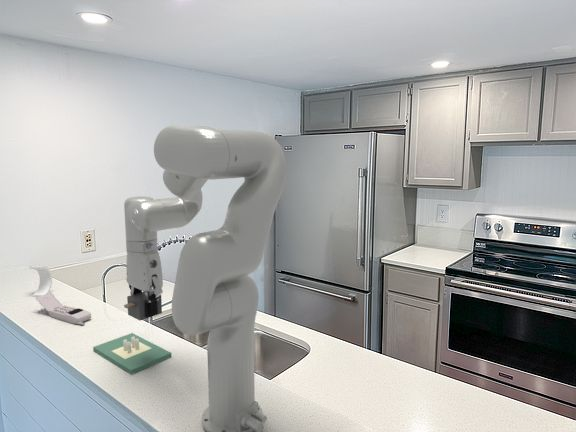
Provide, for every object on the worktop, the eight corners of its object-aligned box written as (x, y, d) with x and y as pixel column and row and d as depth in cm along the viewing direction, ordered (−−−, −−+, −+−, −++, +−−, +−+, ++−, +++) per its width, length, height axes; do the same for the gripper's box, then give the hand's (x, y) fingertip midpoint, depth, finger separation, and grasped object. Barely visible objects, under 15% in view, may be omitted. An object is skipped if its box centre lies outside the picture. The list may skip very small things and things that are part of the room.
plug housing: (161, 313, 111) (161, 295, 110) (132, 323, 105) (131, 304, 104) (149, 307, 115) (149, 290, 114) (120, 317, 109) (119, 298, 108)
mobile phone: (50, 292, 152) (95, 304, 140) (52, 307, 153) (97, 320, 141) (33, 297, 147) (78, 310, 135) (35, 313, 148) (80, 327, 136)
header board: (171, 357, 116) (170, 342, 115) (131, 374, 107) (130, 359, 106) (132, 336, 129) (131, 323, 128) (93, 350, 120) (92, 337, 119)
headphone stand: (32, 297, 163) (29, 266, 162) (42, 291, 169) (39, 262, 168) (43, 297, 163) (41, 267, 161) (53, 292, 169) (50, 263, 167)
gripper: (174, 248, 105) (176, 317, 108) (137, 237, 116) (140, 300, 119) (147, 254, 99) (150, 326, 102) (110, 242, 110) (114, 308, 113)
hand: (144, 312), depth 111 cm, fingers closed on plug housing, 5 cm apart
